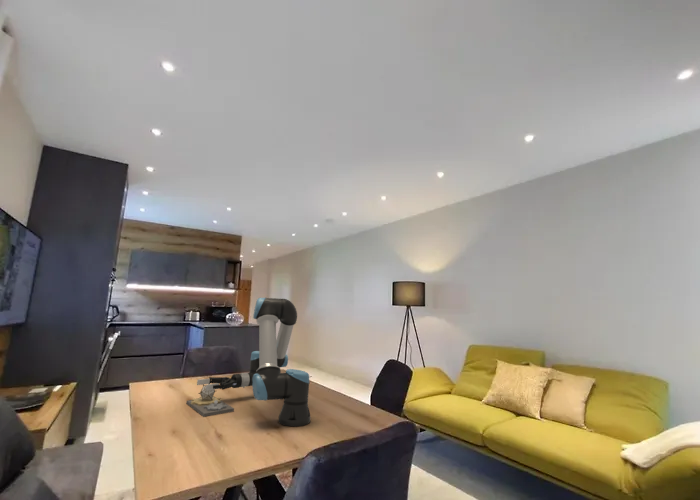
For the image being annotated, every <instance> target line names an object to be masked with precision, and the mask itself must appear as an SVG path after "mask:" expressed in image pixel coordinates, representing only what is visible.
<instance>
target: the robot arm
mask: <svg viewBox="0 0 700 500" xmlns="http://www.w3.org/2000/svg"><path fill="white" fill-rule="evenodd" d="M252 318H253V320H256V323H257V325H259V326H258V327H259V328H258V329H259V332H258V334H259V336H258V337H259V339H258V341H259V342H258V344H259V350H255V351H252V352H251V355H250V362H249V363H250V364H249V372H244V373H243V372H241V373H234V374H232V375H231V377H228V376H222V377H221V376H220V377H218V376H217V377H216V376H213V377H209V378H201V379H197V380H196V385H197V386H203V384H204V385H206V390H214V389H215V390H223V391H224V390H226V389H231V388H232V389H239V388H243V389H245V387H252V394H253V397H254V399H255V400H256V401H265V402H266V401H273V400H283V405H282V408H281V410H280V412H279V415H278V423H279V424H281V425H282V426H286V427H287V426H288V427H302V426H306V425H308V424H311V413H310V407H309V390H310V389H309V388H310V383H311V382H310V373H308V372H306V371H305V370H300V369H294V368H289V369H286V371H285V372H281V368H286V367H287V366H288V363H289V356H288V354H287V351H288V348H289V343H290V340H291V336H292V332H293V328H294V326H295V325H296V323H297V319H298V311H297V308H296V306H295V305H294V303H293V302H292V301H291V300H289V299H287V298H273V297H270V298H269V297H258V298H257V299H256V302H255V306H254V311H253V317H252ZM278 322H280V323H279V328H278V333H277V323H278Z"/></svg>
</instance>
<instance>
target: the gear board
mask: <svg viewBox="0 0 700 500" xmlns="http://www.w3.org/2000/svg"><path fill="white" fill-rule="evenodd" d="M202 400H203V399H202V397H201V396H199V397H198V398H192V399H189V400H186V405H187V406H189V407H190V408H191V409H193V410H194V411H195V412H196V413H198V414H199V415H201V417H203V418H205V417H206V418H207V417H211V416H217V415H221V414H222V415H223V414H227V413H233V412H235V408H234V407H233V406H231V405H230V404H228V403H226V402H224V401H223V400H221V397H216V396H214V395H213V397H212V400H211V399H207V400H203V401H202Z"/></svg>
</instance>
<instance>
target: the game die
mask: <svg viewBox="0 0 700 500" xmlns="http://www.w3.org/2000/svg"><path fill="white" fill-rule="evenodd" d="M206 385H207V384H203V385H202V388H201V390H200V392H198V394H199V396H200V397H202V399H203V400H207V399H211V400H212V397H213V396H214V395H215V393H216V389H214V390H206ZM198 394H197V395H198ZM203 400H202V401H203Z"/></svg>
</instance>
